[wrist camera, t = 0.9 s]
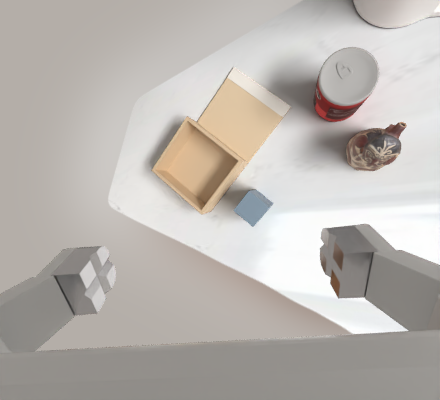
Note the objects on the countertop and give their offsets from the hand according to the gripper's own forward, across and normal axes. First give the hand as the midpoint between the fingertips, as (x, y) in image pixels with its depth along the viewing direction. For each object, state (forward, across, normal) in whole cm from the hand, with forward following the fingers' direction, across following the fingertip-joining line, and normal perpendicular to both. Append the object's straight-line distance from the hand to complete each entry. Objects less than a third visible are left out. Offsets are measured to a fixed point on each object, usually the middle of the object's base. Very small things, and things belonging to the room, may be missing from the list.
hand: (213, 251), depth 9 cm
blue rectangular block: (+38, -5, +17) cm, 42 cm away
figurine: (+36, -25, +8) cm, 45 cm away
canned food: (+41, -21, -1) cm, 46 cm away
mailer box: (+44, +1, +5) cm, 44 cm away
